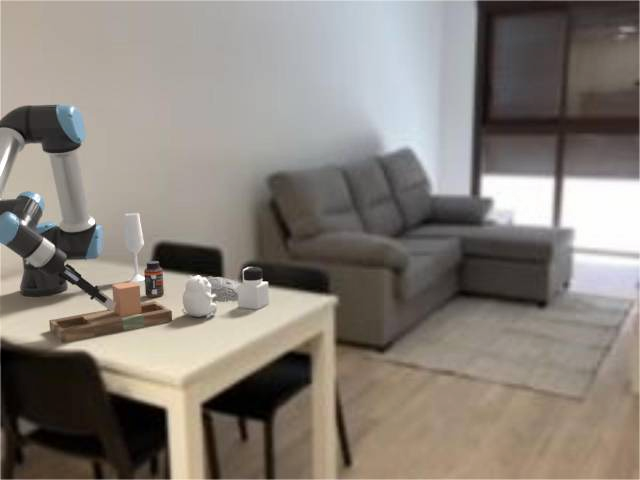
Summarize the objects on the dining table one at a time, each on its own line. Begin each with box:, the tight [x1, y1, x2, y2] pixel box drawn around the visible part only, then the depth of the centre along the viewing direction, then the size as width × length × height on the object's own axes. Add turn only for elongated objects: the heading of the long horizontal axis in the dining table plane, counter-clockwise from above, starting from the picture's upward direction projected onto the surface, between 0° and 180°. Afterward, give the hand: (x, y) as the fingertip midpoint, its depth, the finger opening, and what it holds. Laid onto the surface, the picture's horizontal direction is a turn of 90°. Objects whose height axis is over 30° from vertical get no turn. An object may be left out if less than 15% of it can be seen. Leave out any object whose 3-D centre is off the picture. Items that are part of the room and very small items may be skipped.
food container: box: [206, 276, 240, 303], centre depth 229 cm, size 16×25×7 cm, turn 42°
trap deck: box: [49, 300, 173, 344], centre depth 197 cm, size 13×31×3 cm, turn 125°
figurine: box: [181, 274, 218, 318], centre depth 204 cm, size 10×10×12 cm
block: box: [111, 281, 142, 316], centre depth 199 cm, size 6×6×8 cm
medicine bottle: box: [237, 266, 270, 310], centre depth 214 cm, size 7×7×12 cm
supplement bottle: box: [143, 260, 165, 298], centre depth 228 cm, size 6×6×11 cm
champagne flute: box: [124, 212, 145, 283], centre depth 248 cm, size 7×7×24 cm
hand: (112, 306), depth 197 cm, fingers closed
